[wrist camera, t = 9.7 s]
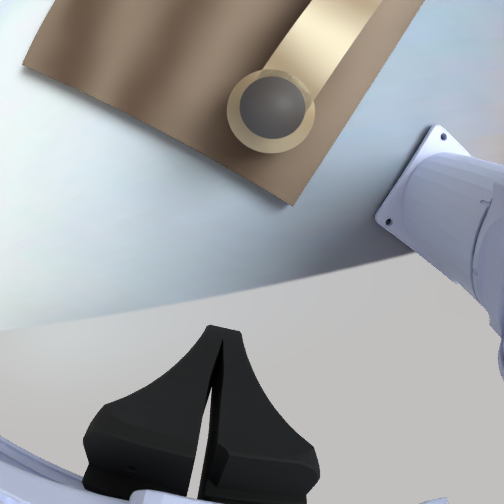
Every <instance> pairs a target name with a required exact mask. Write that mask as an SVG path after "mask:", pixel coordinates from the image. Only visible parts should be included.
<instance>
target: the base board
mask: <svg viewBox="0 0 504 504" xmlns="http://www.w3.org/2000/svg"><path fill="white" fill-rule="evenodd" d="M311 1H312V0H55V2H54V4H53V5H52V7H51V9H50V10H49V12H48V14H47V16H46V17H45V19H44V21H43V23H42V25H41V27H40V28H39V30H38V32H37V34H36V36H35V38H34V40H33V42H32V44H31V46H30V48H29V50H28V53H27V55H26V57H25V59H24V61H23V64H22V65H24V66H26V67H28V68H31V69H33V70H35V71H38V72H40V73H42V74H44V75H47V76H49V77H51V78H53V79H56V80H58V81H60V82H62V83H64V84H67V85H69V86H71V87H73V88H75V89H77V90H79V91H82V92H84V93H86V94H88V95H90V96H92V97H94V98H96V99H98V100H100V101H102V102H104V103H107V104H109V105H111V106H113V107H115V108H117V109H119V110H121V111H123V112H125V113H127V114H129V115H131V116H133V117H135V118H136V119H138V120H140V121H142V122H144V123H146V124H148V125H150V126H152V127H154V128H156V129H158V130H160V131H161V132H163V133H165V134H167V135H169V136H171V137H173V138H175V139H176V140H178V141H180V142H182V143H184V144H186V145H188V146H189V147H191V148H193V149H195V150H197V151H198V152H200V153H202V154H204V155H206V156H207V157H209V158H211V159H213V160H215V161H216V162H218V163H220V164H222V165H223V166H225V167H227V168H229V169H230V170H232V171H234V172H236V173H237V174H239V175H241V176H243V177H244V178H246V179H248V180H249V181H251V182H253V183H254V184H256V185H258V186H260V187H261V188H263V189H265V190H266V191H268V192H270V193H271V194H273V195H275V196H276V197H278V198H280V199H281V200H283V201H285V202H286V203H288V204H289V205H291V206H293V205H294V204H295V202H296V201H297V199H298V197H299V196H300V194H301V193H302V191H303V190H304V188H305V187H306V185H307V184H308V182H309V181H310V179H311V177H312V176H313V174H314V173H315V171H316V170H317V168H318V167H319V165H320V164H321V162H322V161H323V159H324V157H325V156H326V154H327V153H328V151H329V150H330V148H331V147H332V145H333V144H334V142H335V140H336V139H337V137H338V136H339V134H340V133H341V131H342V130H343V128H344V126H345V125H346V123H347V122H348V120H349V119H350V117H351V116H352V114H353V112H354V111H355V109H356V108H357V106H358V105H359V103H360V102H361V100H362V98H363V97H364V95H365V94H366V92H367V91H368V89H369V88H370V86H371V84H372V83H373V81H374V80H375V78H376V77H377V75H378V73H379V72H380V70H381V69H382V67H383V66H384V64H385V62H386V61H387V59H388V58H389V56H390V55H391V53H392V51H393V50H394V48H395V47H396V45H397V43H398V42H399V40H400V39H401V37H402V36H403V34H404V32H405V31H406V29H407V28H408V26H409V24H410V23H411V21H412V20H413V18H414V17H415V15H416V13H417V12H418V10H419V9H420V7H421V5H422V4H423V2H424V1H425V0H382V2H381V3H380V5H379V6H378V7H377V9H376V10H375V12H374V13H373V15H372V16H371V17H370V19H369V20H368V22H367V23H366V25H365V26H364V27H363V29H362V30H361V32H360V33H359V35H358V36H357V37H356V39H355V40H354V42H353V43H352V45H351V46H350V48H349V49H348V51H347V52H346V53H345V55H344V56H343V58H342V59H341V61H340V62H339V64H338V65H337V67H336V68H335V70H334V71H333V73H332V74H331V76H330V77H329V79H328V80H327V82H326V83H325V85H324V86H323V87H322V89H321V90H320V92H319V93H318V95H317V97H316V98H315V100H314V105H315V119H314V123H313V126H312V128H311V130H310V132H309V134H308V135H307V137H306V138H305V139H304V140H303V141H302V142H301V143H300V144H299V145H297V146H296V147H294V148H292V149H290V150H288V151H285V152H281V153H263V152H258V151H256V150H253V149H251V148H249V147H247V146H246V145H244V144H243V143H242V142H241V141H240V140H239V139H238V138H237V137H236V136H235V135H234V133H233V132H232V130H231V128H230V125H229V122H228V118H227V103H228V99H229V96H230V94H231V92H232V90H233V88H234V87H235V86H236V84H237V83H238V82H239V81H240V80H242V79H243V78H244V77H246V76H247V75H249V74H251V73H253V72H256V71H260V70H262V69H263V68H264V66H265V65H266V63H267V62H268V61H269V59H270V58H271V56H272V55H273V53H274V52H275V50H276V49H277V48H278V46H279V45H280V43H281V42H282V40H283V39H284V38H285V36H286V35H287V33H288V32H289V31H290V29H291V28H292V27H293V25H294V24H295V22H296V21H297V20H298V18H299V17H300V16H301V14H302V13H303V12H304V10H305V9H306V8H307V6H308V5H309V4H310V2H311Z"/></svg>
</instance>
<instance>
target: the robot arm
mask: <svg viewBox="0 0 504 504" xmlns="http://www.w3.org/2000/svg"><path fill="white" fill-rule="evenodd" d="M442 133H443V135H444V139H443V140H442V139H441V134H442ZM387 219H391V222H390V223H389V224H388V225H386V220H387ZM375 220H376V222H377V223H378V224H379V225H381V226H382V227H383V228H385V229H386V230H387V231H389V232H390V233H391V234H393V235H394V236H396V237H397V238H398V239H400V240H401V241H402V242H404V243H405V244H406V245H408V246H409V247H410V248H411V249H413V250H414V251H415V252H417V253H418V254H419V255H420V256H422V257H423V258H424V259H426V260H427V261H428V262H429V263H431V264H432V265H433V266H434V267H436V268H437V269H438V270H439V271H441V272H442V273H443V274H444V275H446V276H447V277H448V278H449V279H450V280H452V281H453V282H454V283H456V284H460V285H461V286H462V287H463V288H464V289H465V290H466V291H467V292H469V294H471V295H472V296H473V297H474V298H475V299H476V300H477V301H478V302H479V303H480V304H481V305H482V306H483V307H484V308H485V309H486V311H487V312H488V314H489V318H490V326H491V327H492V328H493V329H494V330H495V331H496V333H498V335H499V336H500V337H501V338H502V340H501V344H500V347H499V353H498V364H499V370H500V373H501V376H502V378H503V380H504V165H503V164H499V163H495V162H491V161H487V160H483V159H479V158H474V157H472V156H471V155H470V154H469V153H468V152H467V151H466V150H465V149H464V148H463V147H462V146H461V145H460V144H459V143H458V142H457V141H456V140H455V139H454V138H453V137H452V136H451V135H450V134H449V133H448V132H447V131H446V130H445V129H444V128H443V127H442V126H440V125H433V126H432V127H431V128H430V130H429V131H428V133H427V135H426V136H425V138H424V140H423V141H422V143H421V145H420V146H419V148H418V150H417V151H416V153H415V154H414V156H413V158H412V159H411V161H410V162H409V164H408V166H407V167H406V169H405V170H404V172H403V173H402V175H401V177H400V178H399V180H398V181H397V183H396V184H395V186H394V187H393V189H392V190H391V192H390V193H389V195H388V196H387V198H386V199H385V201H384V202H383V204H382V205H381V207H380V208H379V210H378V211H377V213H376V215H375ZM211 387H212V394H211V408H210V423H209V434H208V442H207V446H206V452H205V458H204V464H203V470H202V475H201V480H200V486H199V492H198V497H197V499H193V498H188V497H186V496H187V492H188V487H189V483H190V478H191V474H192V470H193V465H194V460H195V456H196V451H197V445H198V440H199V433H200V428H201V422H202V416H203V413H204V410H205V407H206V403H207V400H208V397H209V394H210V391H211ZM83 445H84V448H85V452H86V455H87V458H88V461H89V465H88V468H87V470H86V472H85V475H84V477H82V476H80V475H77V474H74V473H72V472H70V471H68V470H65V469H63V468H61V467H59V466H57V465H54V464H52V463H50V462H48V461H46V460H44V459H42V458H40V457H38V456H36V455H34V454H32V453H30V452H28V451H26V450H25V449H23V448H21V447H19V446H17V445H16V444H14V443H12V442H10V441H9V440H7V439H5V438H3V437H2V436H0V504H307V501H306V500H307V499H306V494H307V493H308V492H309V491H310V490H311V489H312V487H314V486H315V484H316V483H317V482H318V480H319V478H320V468H319V463H318V459H317V456H316V453H315V450H314V447H313V446H312V445H311V444H310V443H308V442H307V441H306V440H305V439H304V438H302V437H301V436H300V435H299V434H298V433H296V432H295V431H294V430H293V429H292V428H291V427H290V426H289V425H288V423H286V422H285V420H284V419H283V418H282V416H281V415H280V414H279V413H278V412H277V411H276V409H275V408H274V406H273V405H272V404H271V402H270V401H269V399H268V398H267V396H266V394H265V393H264V391H263V389H262V388H261V386H260V384H259V382H258V380H257V378H256V376H255V374H254V372H253V369H252V367H251V365H250V362H249V359H248V357H247V354H246V351H245V348H244V344H243V339H242V334H241V333H240V331H235V330H231V329H227V328H222V327H218V326H213V325H208V326H207V327H206V329H205V331H204V333H203V334H202V336H201V337H200V338H199V340H198V341H197V342H196V344H195V345H194V346H193V347H192V348H191V349H190V351H189V352H188V353H187V354H186V355H185V356H184V357H183V358H182V359H181V360H180V361H179V362H178V363H177V364H176V365H175V366H173V367H172V368H171V369H170V370H169V371H167V372H166V373H165V374H164V375H162V376H161V377H160V378H158V379H156V380H155V381H154V382H152V383H151V384H149V385H147V386H146V387H144V388H142V389H140V390H138V391H136V392H134V393H132V394H130V395H128V396H126V397H124V398H121V399H119V400H117V401H114V402H111V403H108V404H105V405H104V406H103V407H102V408H101V409H100V411H99V412H98V413H97V415H96V416H95V417H94V419H93V420H92V422H91V423H90V425H89V427H88V429H87V431H86V434H85V436H84V438H83ZM420 504H449V503H448V500H447V498H446V497H444V498H439V499H434V500H429V501H426V502H423V503H420Z"/></svg>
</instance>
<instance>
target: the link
mask: <svg viewBox="0 0 504 504" xmlns="http://www.w3.org/2000/svg"><path fill="white" fill-rule="evenodd" d="M381 2H382V0H312V1H311V2H310V4H309V5H308V6H307V8H306V9H305V10H304V12H303V13H302V14H301V16H300V17H299V18H298V20H297V21H296V22H295V24H294V25H293V27H292V28H291V29H290V31H289V32H288V33H287V35H286V36H285V38H284V39H283V40H282V42H281V43H280V45H279V46H278V48H277V49H276V50H275V52H274V53H273V55H272V56H271V58H270V59H269V61H268V62H267V63H266V65H265V66H264V68H263V69H262V70H260V71H256V72H253V73H251V74H249V75H247V76H246V77H244V78H243V79H242V80H240V81H239V82H238V83H237V84H236V86H235V87H234V88H233V90H232V92H231V94H230V96H229V99H228V103H227V118H228V122H229V125H230V128H231V130H232V132H233V133H234V135H235V136H236V137H237V138H238V139H239V140H240V141H241V142H242V143H243V144H244V145H246V146H247V147H249V148H251V149H253V150H256V151H258V152H263V153H281V152H285V151H288V150H290V149H292V148H294V147H296V146H297V145H299V144H300V143H301V142H302V141H303V140H304V139H305V138H306V137H307V135H308V134H309V132H310V130H311V128H312V126H313V123H314V119H315V105H314V100H315V98H316V97H317V95H318V93H319V92H320V90H321V89H322V87H323V86H324V85H325V83H326V82H327V80H328V79H329V77H330V76H331V74H332V73H333V71H334V70H335V68H336V67H337V65H338V64H339V62H340V61H341V59H342V58H343V56H344V55H345V53H346V52H347V51H348V49H349V48H350V46H351V45H352V43H353V42H354V40H355V39H356V37H357V36H358V35H359V33H360V32H361V30H362V29H363V27H364V26H365V25H366V23H367V22H368V20H369V19H370V17H371V16H372V15H373V13H374V12H375V10H376V9H377V7H378V6H379V5H380V3H381Z"/></svg>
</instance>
